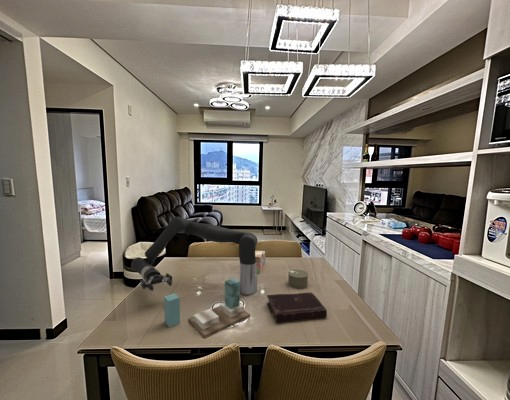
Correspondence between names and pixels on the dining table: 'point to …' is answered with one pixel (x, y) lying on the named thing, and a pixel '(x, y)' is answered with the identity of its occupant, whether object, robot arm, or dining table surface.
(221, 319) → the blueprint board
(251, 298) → the dining table surface
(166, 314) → the teal pillar
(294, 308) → the diary
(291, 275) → the can
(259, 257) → the stack of blocks
